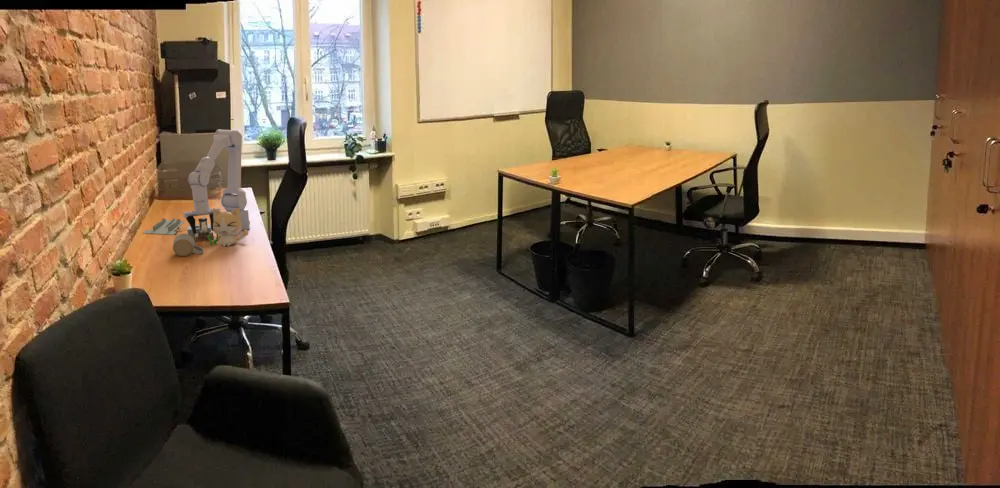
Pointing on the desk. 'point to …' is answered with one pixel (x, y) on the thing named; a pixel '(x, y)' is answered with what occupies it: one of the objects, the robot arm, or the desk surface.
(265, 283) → the desk surface
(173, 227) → the metal bracket
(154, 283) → the desk surface
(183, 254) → the ceramic mug
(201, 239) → the mount
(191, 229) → the dock
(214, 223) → the kitten
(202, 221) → the pin
